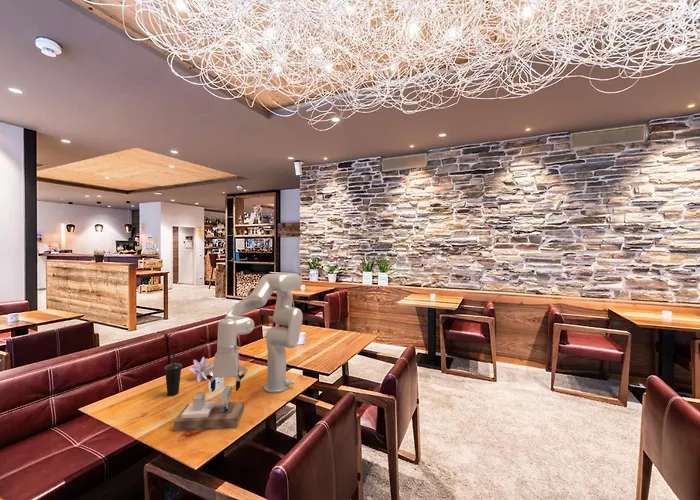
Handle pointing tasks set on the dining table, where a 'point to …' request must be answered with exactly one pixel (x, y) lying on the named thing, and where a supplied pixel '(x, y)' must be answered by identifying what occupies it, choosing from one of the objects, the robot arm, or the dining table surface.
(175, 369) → the drinking cup
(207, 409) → the cover
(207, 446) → the dining table surface
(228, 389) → the latch
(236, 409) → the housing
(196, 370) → the water lily
